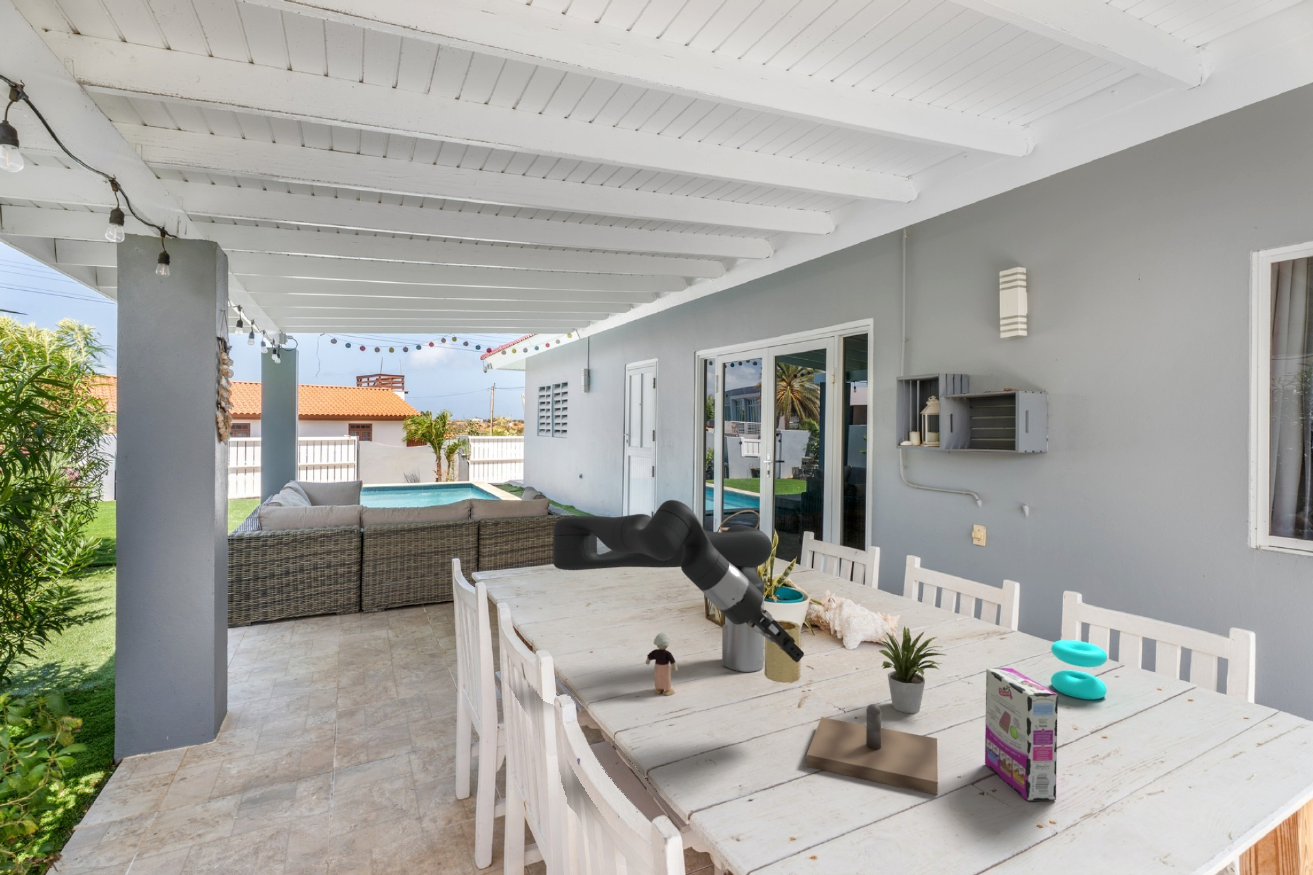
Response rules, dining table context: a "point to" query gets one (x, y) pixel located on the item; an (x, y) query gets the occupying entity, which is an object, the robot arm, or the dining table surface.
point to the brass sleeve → (782, 657)
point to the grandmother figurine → (662, 665)
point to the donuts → (1074, 680)
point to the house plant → (907, 671)
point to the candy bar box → (1021, 733)
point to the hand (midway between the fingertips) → (790, 650)
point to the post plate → (875, 753)
